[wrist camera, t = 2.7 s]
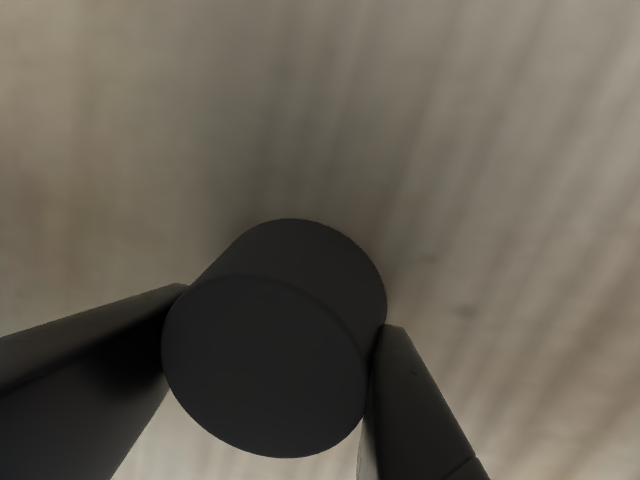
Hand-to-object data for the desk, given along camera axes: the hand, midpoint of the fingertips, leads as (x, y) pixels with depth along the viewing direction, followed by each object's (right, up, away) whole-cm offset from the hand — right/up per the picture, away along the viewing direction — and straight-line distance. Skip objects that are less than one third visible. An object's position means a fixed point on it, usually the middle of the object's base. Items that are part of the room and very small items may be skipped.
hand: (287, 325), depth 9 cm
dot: (0, 0, +1) cm, 1 cm away
